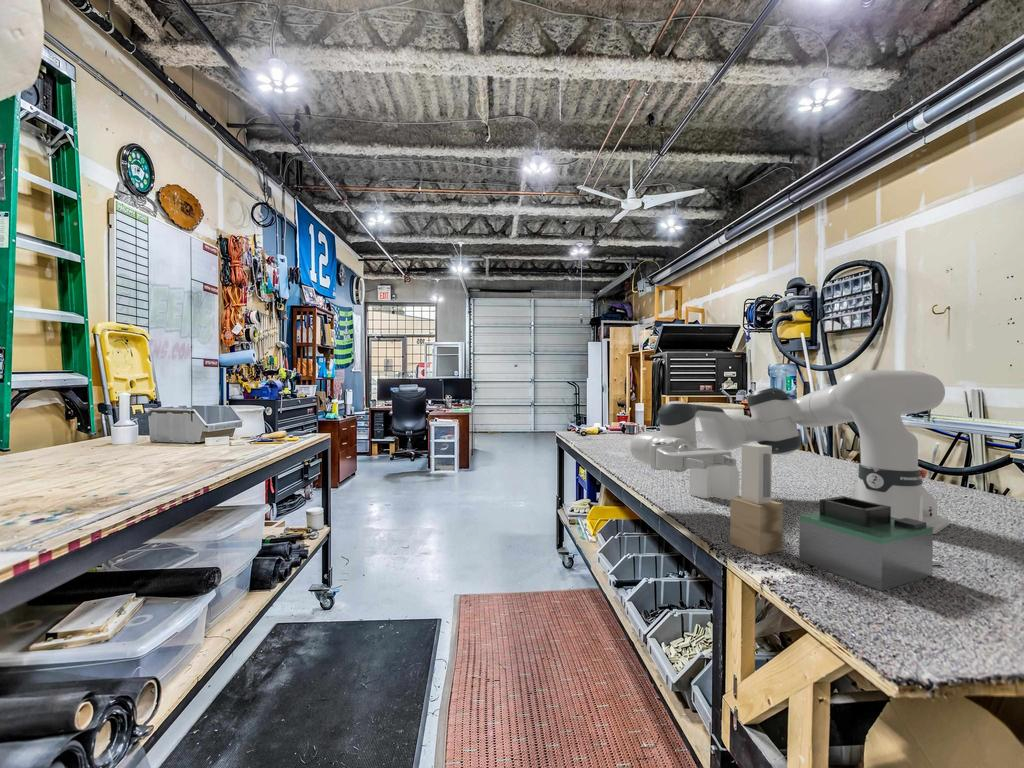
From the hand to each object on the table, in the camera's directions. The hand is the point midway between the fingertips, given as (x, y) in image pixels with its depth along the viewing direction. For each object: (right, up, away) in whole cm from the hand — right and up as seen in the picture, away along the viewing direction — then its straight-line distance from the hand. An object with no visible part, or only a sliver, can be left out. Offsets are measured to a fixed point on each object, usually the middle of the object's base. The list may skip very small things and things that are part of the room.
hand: (719, 463), depth 101 cm
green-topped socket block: (+19, -17, -18) cm, 31 cm away
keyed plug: (+4, -6, -8) cm, 11 cm away
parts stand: (+4, -16, -8) cm, 19 cm away
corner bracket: (+15, -17, +35) cm, 41 cm away
